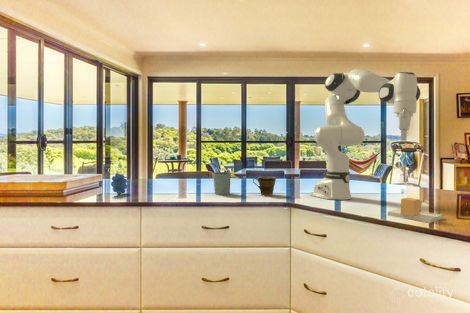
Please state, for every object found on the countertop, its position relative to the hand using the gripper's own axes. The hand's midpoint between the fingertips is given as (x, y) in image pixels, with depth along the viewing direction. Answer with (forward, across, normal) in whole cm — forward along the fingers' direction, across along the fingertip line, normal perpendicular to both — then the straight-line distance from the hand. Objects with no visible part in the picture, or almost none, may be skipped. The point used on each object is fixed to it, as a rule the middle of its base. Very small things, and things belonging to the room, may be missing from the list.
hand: (403, 140), depth 140 cm
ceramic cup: (+31, +4, +68) cm, 75 cm away
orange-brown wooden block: (+30, -15, -3) cm, 33 cm away
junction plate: (+31, -12, -5) cm, 34 cm away
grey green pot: (+31, -5, +91) cm, 96 cm away
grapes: (+31, -37, +136) cm, 145 cm away
